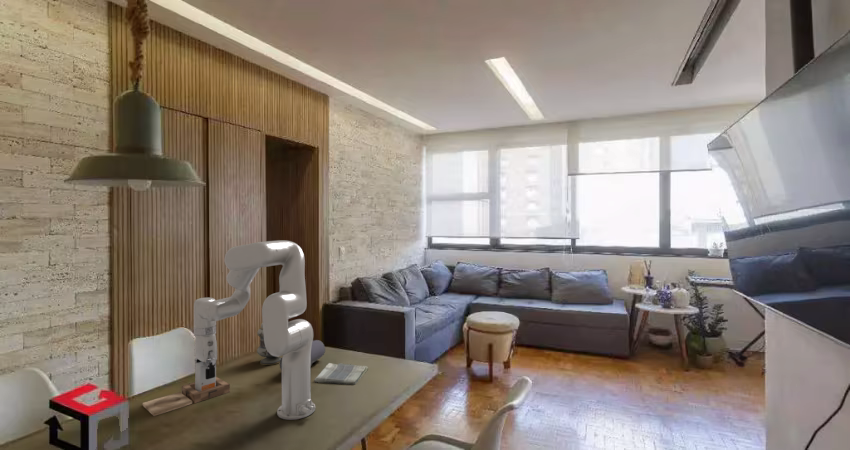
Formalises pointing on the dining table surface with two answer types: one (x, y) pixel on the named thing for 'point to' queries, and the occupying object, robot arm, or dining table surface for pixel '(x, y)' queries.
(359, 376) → the dish towel
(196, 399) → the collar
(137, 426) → the dining table surface
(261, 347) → the grey tall piece
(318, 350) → the bluetooth speaker
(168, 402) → the pad
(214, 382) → the skincare box
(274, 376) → the dining table surface
